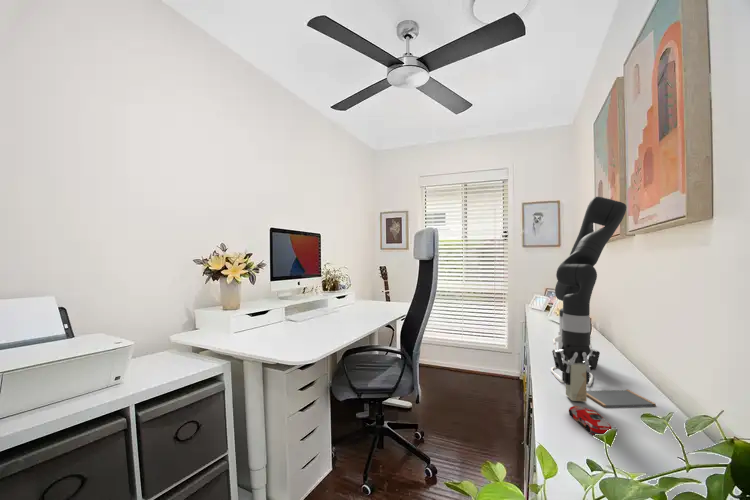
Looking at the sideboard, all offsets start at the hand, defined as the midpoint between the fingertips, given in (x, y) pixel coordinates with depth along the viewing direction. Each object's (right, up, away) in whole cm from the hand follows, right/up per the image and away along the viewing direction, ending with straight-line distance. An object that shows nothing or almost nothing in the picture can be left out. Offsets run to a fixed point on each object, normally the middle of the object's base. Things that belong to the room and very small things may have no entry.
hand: (575, 383), depth 103 cm
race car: (-5, -5, -15) cm, 16 cm away
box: (0, -5, 0) cm, 5 cm away
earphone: (+10, -5, +18) cm, 22 cm away
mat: (+13, -5, 0) cm, 14 cm away
